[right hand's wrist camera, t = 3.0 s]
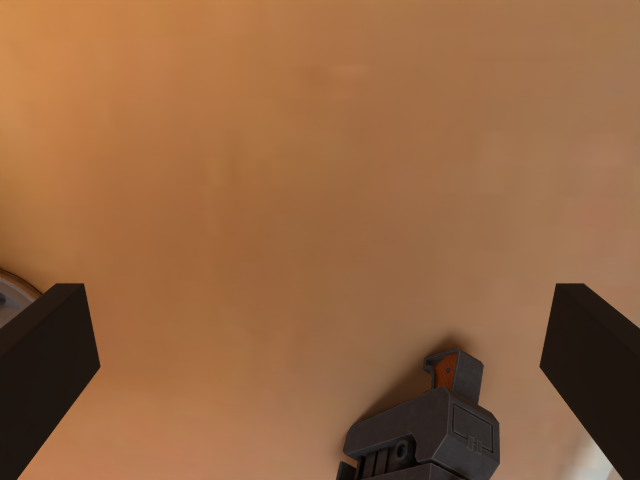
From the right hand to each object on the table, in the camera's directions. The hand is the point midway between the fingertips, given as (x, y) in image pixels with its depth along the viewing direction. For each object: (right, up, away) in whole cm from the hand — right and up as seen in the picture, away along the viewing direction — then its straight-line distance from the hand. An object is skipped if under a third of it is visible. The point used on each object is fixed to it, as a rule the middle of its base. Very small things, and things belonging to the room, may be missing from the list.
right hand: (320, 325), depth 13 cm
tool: (+8, -15, +35) cm, 39 cm away
